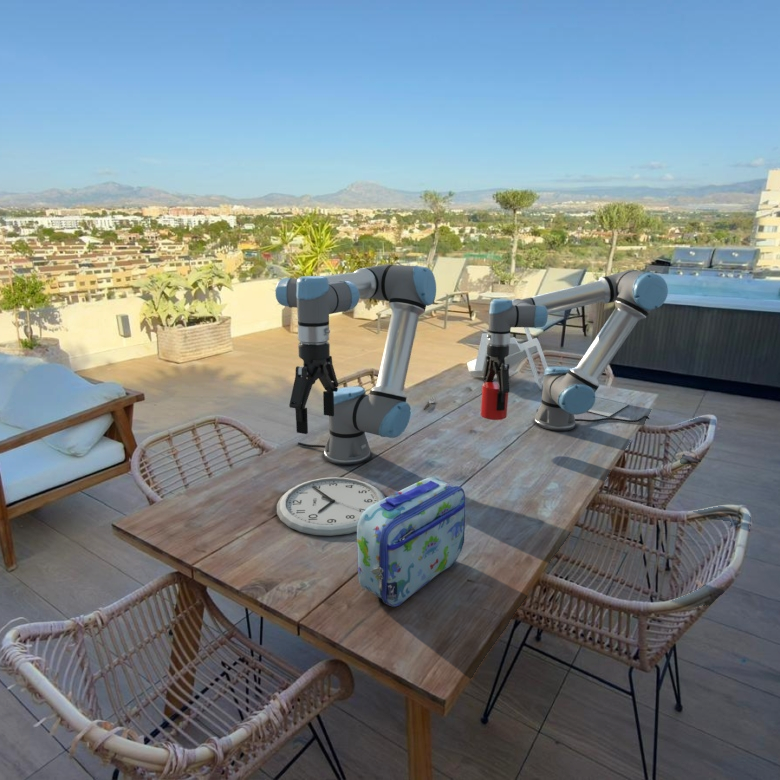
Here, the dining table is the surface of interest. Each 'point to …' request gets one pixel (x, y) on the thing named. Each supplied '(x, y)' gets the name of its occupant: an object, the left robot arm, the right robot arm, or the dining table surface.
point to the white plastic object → (514, 357)
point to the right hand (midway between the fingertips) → (494, 405)
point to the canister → (492, 402)
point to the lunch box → (410, 539)
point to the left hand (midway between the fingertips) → (316, 423)
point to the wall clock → (327, 505)
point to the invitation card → (606, 407)
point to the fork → (430, 402)
